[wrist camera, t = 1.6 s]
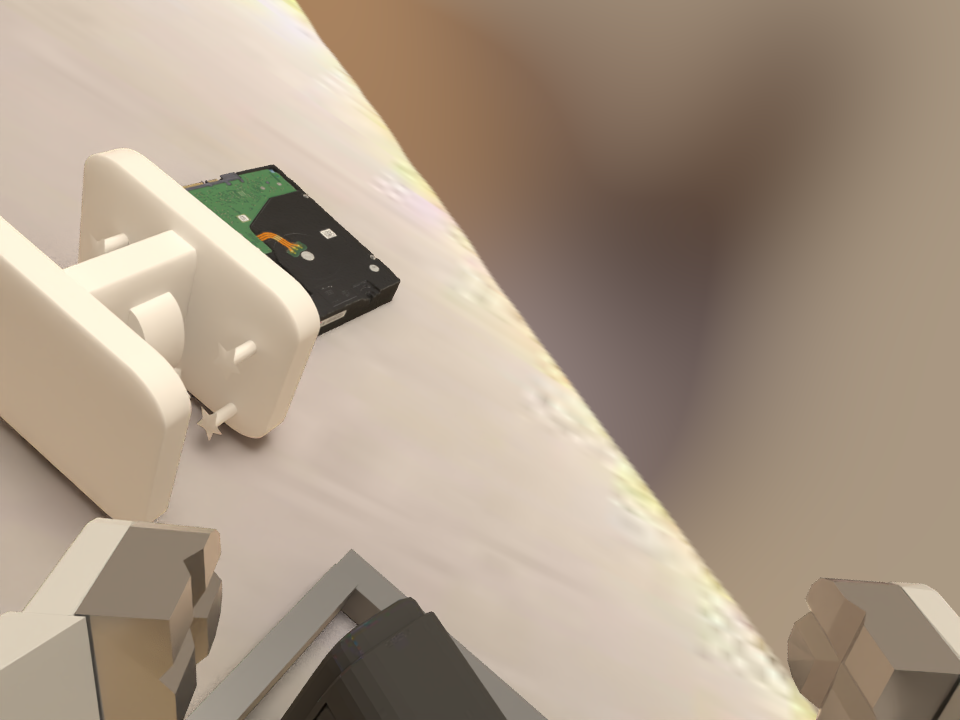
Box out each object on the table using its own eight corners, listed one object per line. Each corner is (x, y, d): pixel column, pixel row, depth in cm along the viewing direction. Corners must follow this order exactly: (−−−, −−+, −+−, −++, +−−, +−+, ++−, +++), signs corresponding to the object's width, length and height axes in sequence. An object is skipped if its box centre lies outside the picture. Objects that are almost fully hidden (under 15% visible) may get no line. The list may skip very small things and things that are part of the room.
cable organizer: (-75, 360, 36) (-101, 174, 28) (108, 286, 44) (125, 125, 36) (134, 553, 34) (165, 406, 26) (285, 438, 42) (341, 301, 34)
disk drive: (391, 305, 55) (265, 188, 58) (404, 279, 53) (273, 160, 56) (293, 354, 47) (153, 217, 50) (304, 326, 45) (158, 185, 48)
